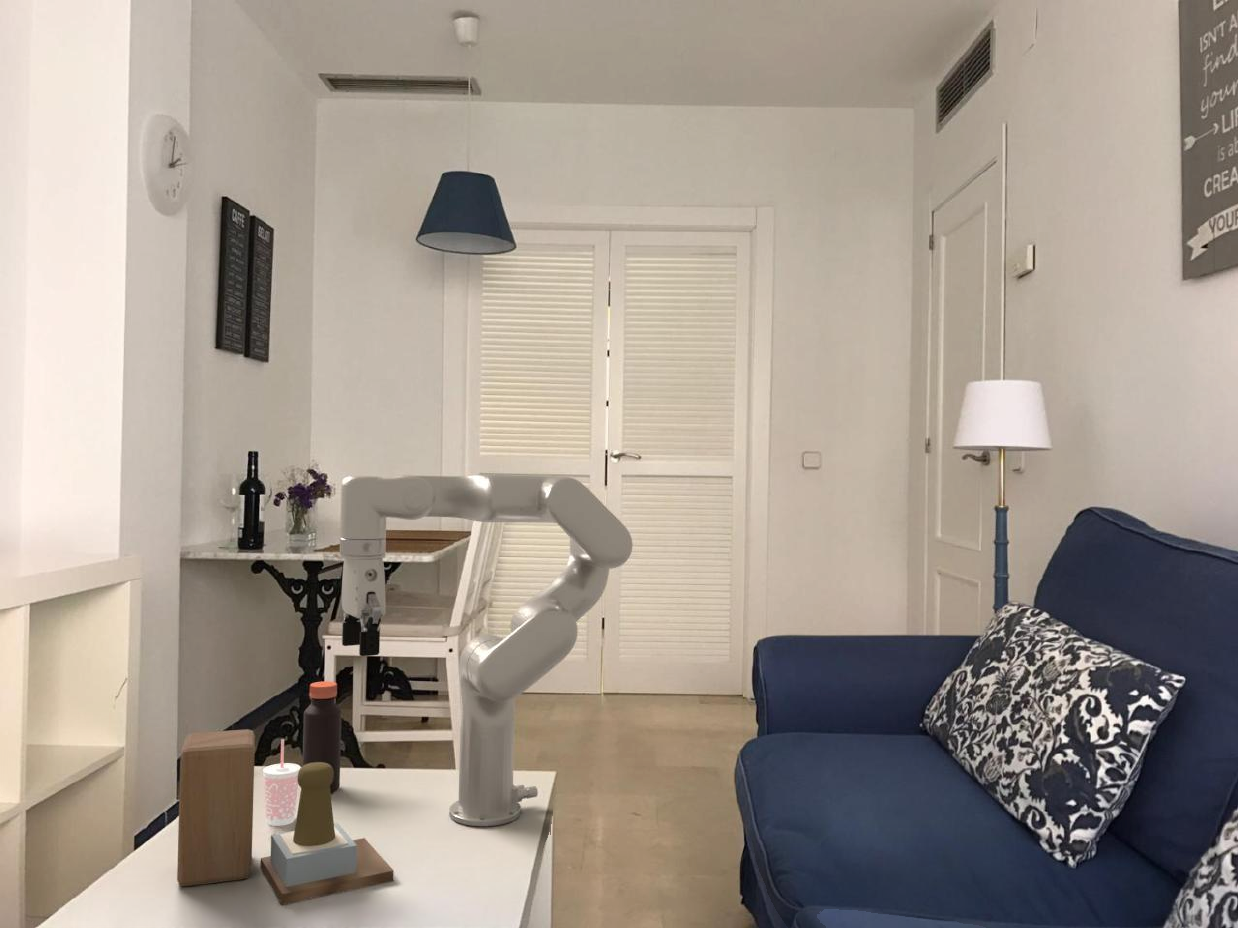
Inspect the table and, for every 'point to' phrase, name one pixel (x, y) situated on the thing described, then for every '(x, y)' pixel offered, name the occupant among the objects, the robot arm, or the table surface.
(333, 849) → the slate plinth
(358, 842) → the brown board
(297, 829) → the olive pawn
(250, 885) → the table surface
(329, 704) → the bottle
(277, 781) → the beverage cup
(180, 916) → the table surface
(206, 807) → the block
